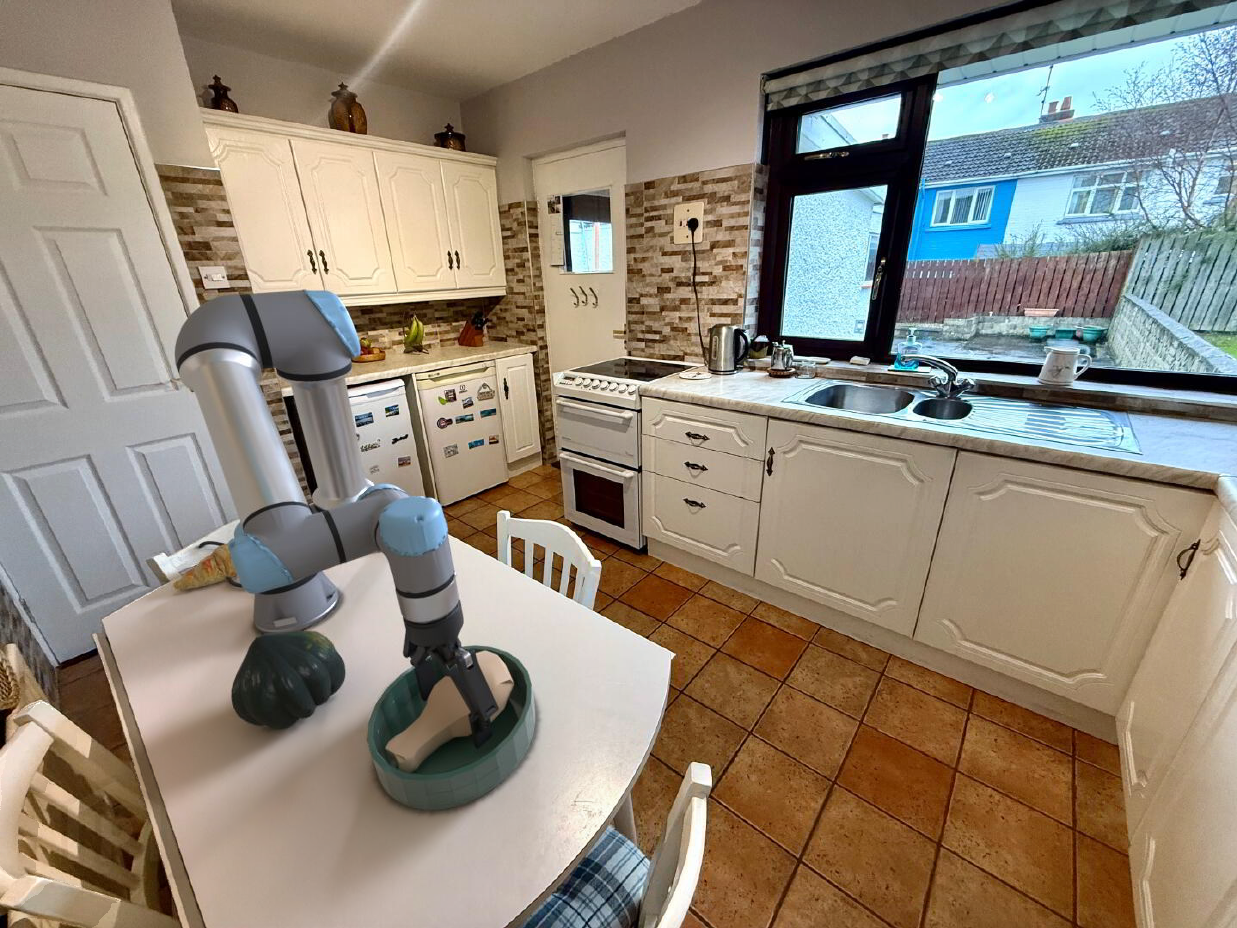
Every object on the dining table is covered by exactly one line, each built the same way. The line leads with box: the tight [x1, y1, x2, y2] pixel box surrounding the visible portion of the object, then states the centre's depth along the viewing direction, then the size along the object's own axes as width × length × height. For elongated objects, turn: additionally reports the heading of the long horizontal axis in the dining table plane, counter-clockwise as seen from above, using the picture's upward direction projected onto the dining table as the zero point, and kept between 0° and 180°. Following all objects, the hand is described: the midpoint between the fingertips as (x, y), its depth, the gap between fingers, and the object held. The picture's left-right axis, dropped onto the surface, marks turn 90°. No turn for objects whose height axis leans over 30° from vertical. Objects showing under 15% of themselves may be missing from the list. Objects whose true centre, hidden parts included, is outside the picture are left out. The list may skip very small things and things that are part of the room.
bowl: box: [366, 644, 536, 811], centre depth 74 cm, size 24×24×6 cm
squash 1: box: [230, 630, 347, 731], centre depth 79 cm, size 14×15×15 cm
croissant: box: [172, 542, 237, 591], centre depth 116 cm, size 21×10×8 cm, turn 148°
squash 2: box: [385, 651, 514, 774], centre depth 74 cm, size 11×20×9 cm, turn 140°
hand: (456, 716), depth 74 cm, fingers open, 13 cm apart
